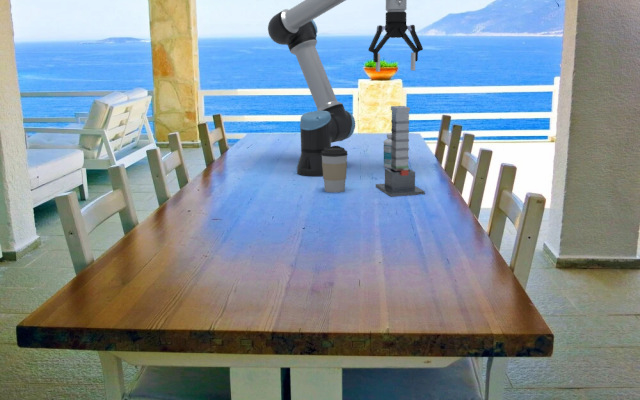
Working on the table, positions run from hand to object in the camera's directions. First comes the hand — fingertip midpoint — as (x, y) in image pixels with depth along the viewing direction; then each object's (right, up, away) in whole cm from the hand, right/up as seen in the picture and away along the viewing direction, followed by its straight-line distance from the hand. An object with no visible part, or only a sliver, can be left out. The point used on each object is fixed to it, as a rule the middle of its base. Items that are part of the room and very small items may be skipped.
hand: (395, 71), depth 254 cm
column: (-1, -37, -21) cm, 43 cm away
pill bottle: (+1, -34, +23) cm, 42 cm away
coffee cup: (-23, -44, -17) cm, 53 cm away
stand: (-1, -44, -19) cm, 48 cm away
